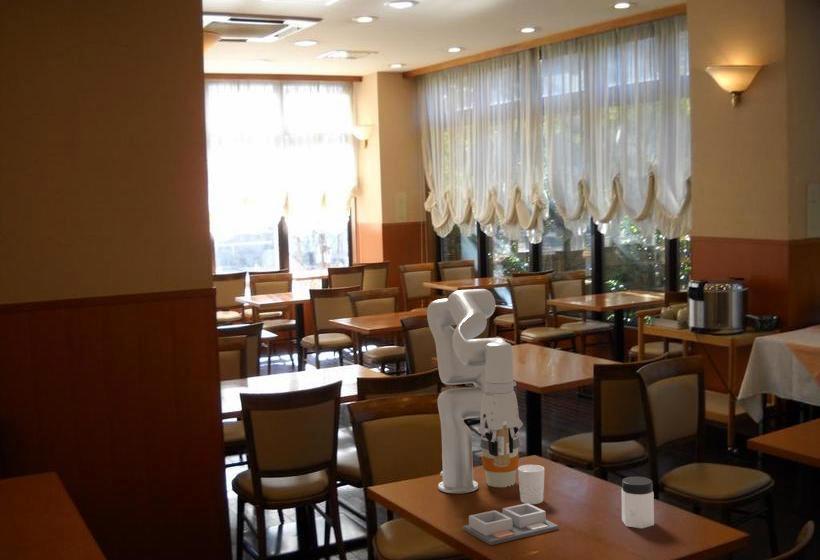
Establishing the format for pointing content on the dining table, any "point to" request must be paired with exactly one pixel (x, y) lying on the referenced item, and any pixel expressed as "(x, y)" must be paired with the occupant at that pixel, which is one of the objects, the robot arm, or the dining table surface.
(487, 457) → the reusable coffee cup
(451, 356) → the robot arm
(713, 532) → the dining table surface
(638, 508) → the jar
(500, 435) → the sprinkles bottle
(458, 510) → the dining table surface
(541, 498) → the white cup
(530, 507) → the socket board
